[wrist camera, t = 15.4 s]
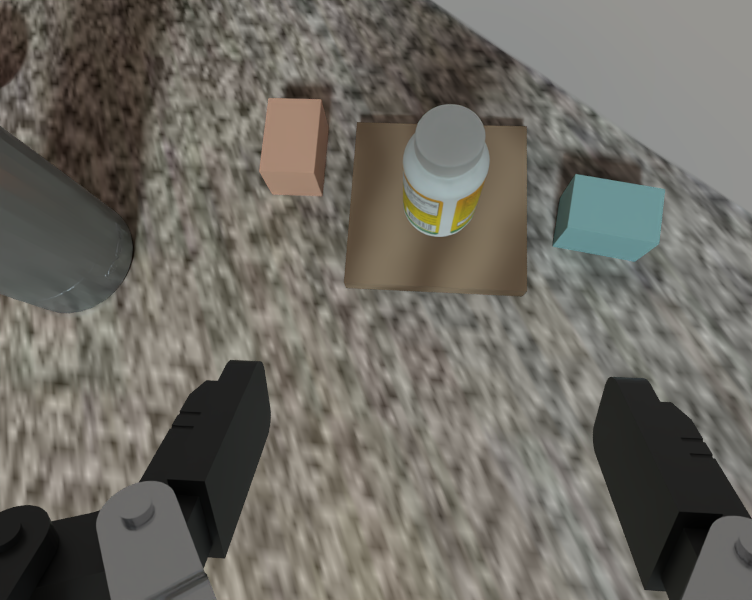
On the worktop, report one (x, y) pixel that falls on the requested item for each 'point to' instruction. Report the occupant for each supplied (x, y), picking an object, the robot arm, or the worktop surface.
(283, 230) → the worktop surface
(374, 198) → the walnut board
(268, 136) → the terracotta block
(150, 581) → the robot arm
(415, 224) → the supplement bottle
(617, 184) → the teal block
